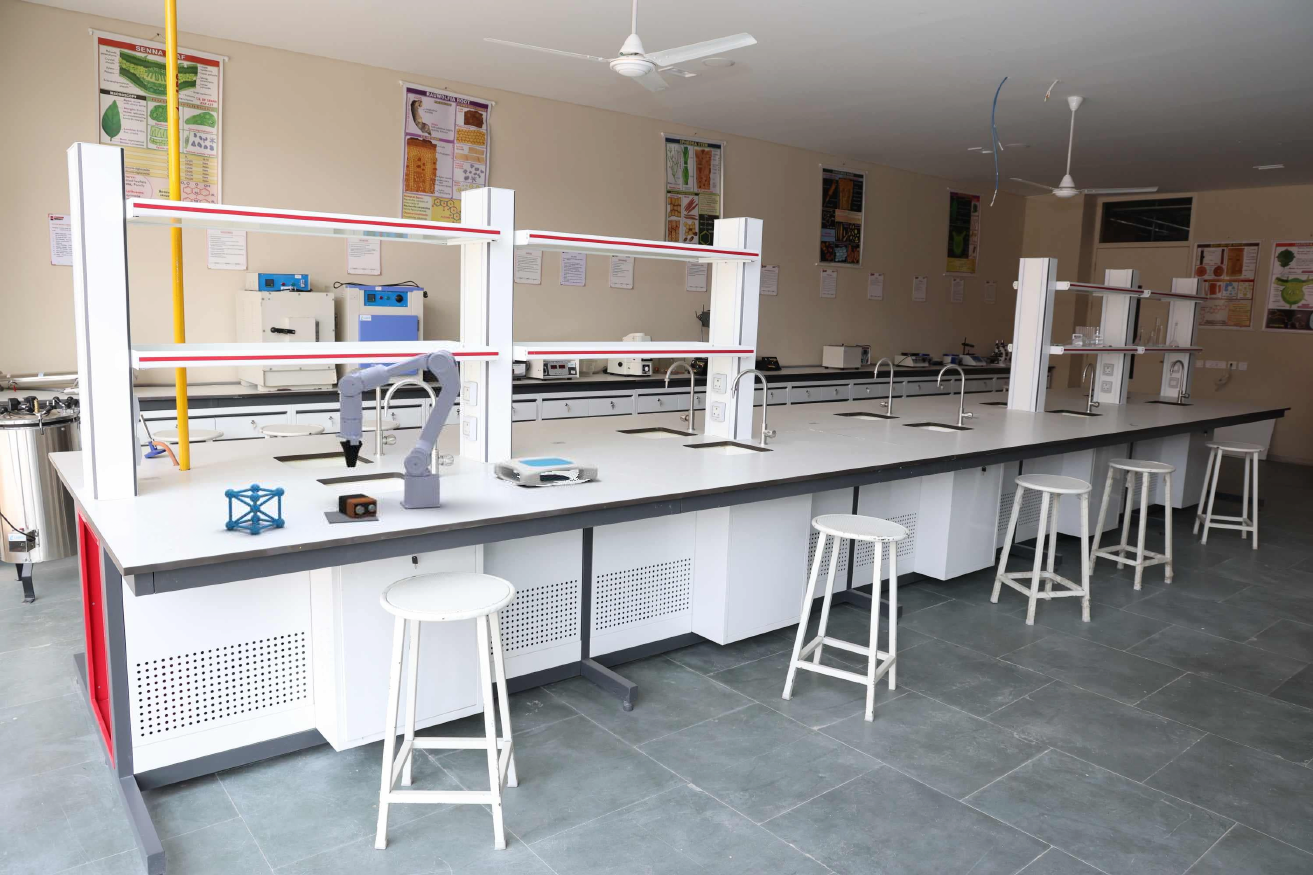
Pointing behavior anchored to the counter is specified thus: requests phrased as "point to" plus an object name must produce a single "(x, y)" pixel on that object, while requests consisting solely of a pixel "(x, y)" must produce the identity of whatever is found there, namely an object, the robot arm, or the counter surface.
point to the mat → (346, 517)
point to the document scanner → (542, 469)
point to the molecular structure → (254, 508)
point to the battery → (357, 505)
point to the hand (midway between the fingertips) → (351, 467)
